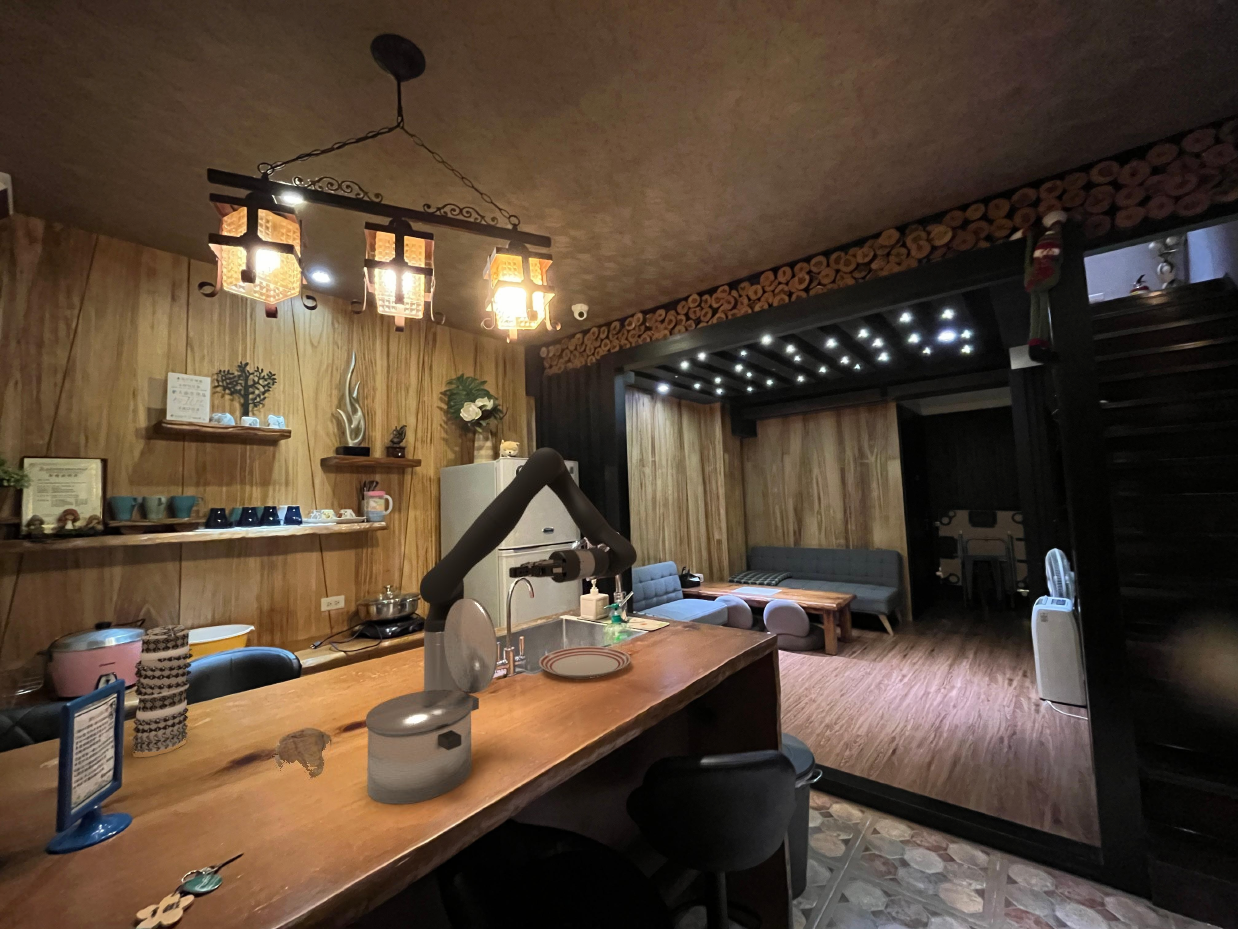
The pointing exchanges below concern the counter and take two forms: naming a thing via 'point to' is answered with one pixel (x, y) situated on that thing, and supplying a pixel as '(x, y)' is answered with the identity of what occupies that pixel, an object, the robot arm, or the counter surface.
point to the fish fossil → (303, 749)
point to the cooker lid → (470, 645)
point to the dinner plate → (584, 661)
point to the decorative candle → (162, 689)
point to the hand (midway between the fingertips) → (511, 573)
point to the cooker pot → (419, 745)
